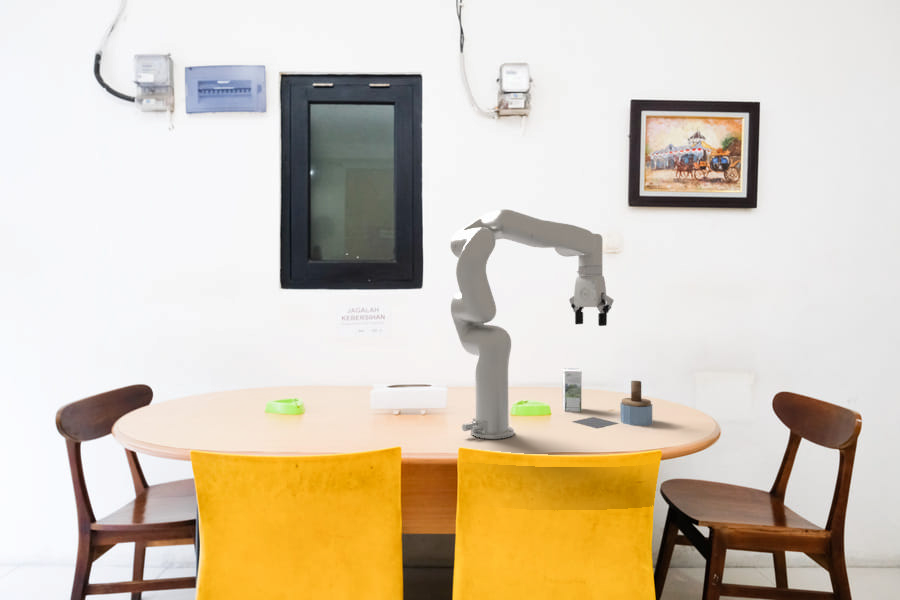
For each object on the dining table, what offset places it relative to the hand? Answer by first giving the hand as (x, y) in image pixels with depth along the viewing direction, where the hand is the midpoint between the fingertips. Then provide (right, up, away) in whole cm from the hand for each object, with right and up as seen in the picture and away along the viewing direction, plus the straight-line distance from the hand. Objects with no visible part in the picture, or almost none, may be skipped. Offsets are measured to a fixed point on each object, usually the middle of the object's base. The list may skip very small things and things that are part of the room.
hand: (590, 324), depth 172 cm
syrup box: (-4, -30, +10) cm, 32 cm away
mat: (-1, -31, -7) cm, 31 cm away
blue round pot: (+13, -30, -7) cm, 34 cm away
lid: (+12, -24, -7) cm, 28 cm away
